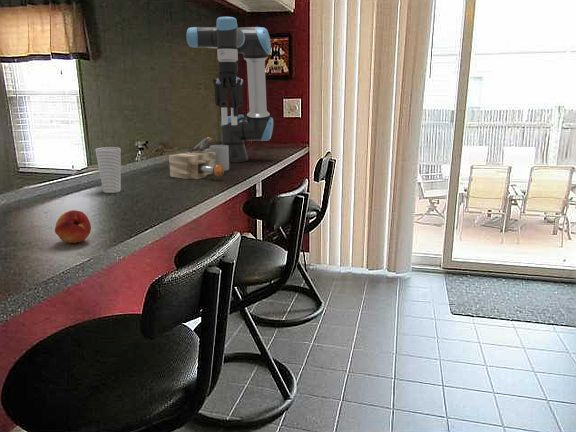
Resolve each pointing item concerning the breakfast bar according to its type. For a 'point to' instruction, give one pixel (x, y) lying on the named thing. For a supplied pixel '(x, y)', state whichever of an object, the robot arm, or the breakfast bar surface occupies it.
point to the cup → (109, 168)
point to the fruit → (73, 226)
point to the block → (191, 164)
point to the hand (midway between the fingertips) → (229, 124)
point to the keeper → (201, 144)
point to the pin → (212, 169)
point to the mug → (220, 155)
